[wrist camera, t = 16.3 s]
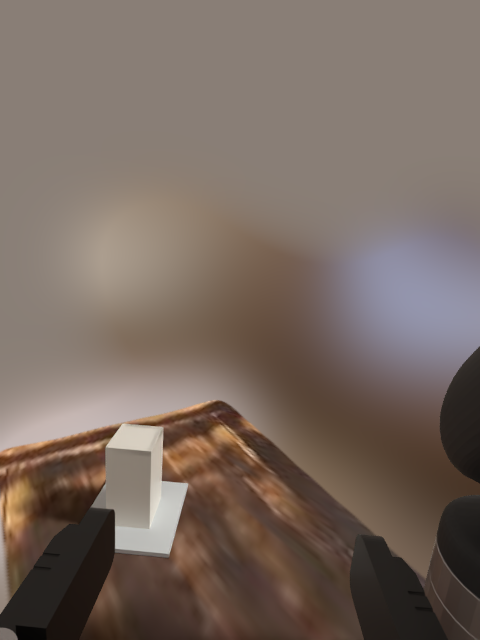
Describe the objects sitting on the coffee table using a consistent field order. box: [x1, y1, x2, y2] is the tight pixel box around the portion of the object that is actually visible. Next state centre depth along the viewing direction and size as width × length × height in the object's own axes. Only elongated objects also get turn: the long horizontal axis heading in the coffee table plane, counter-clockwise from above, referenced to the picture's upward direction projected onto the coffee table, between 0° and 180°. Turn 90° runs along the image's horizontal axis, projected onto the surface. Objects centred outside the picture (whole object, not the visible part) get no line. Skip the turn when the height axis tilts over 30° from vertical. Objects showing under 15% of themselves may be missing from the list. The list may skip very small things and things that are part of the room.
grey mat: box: [91, 481, 188, 558], centre depth 49 cm, size 13×13×1 cm
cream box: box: [106, 424, 163, 529], centre depth 48 cm, size 6×6×12 cm
